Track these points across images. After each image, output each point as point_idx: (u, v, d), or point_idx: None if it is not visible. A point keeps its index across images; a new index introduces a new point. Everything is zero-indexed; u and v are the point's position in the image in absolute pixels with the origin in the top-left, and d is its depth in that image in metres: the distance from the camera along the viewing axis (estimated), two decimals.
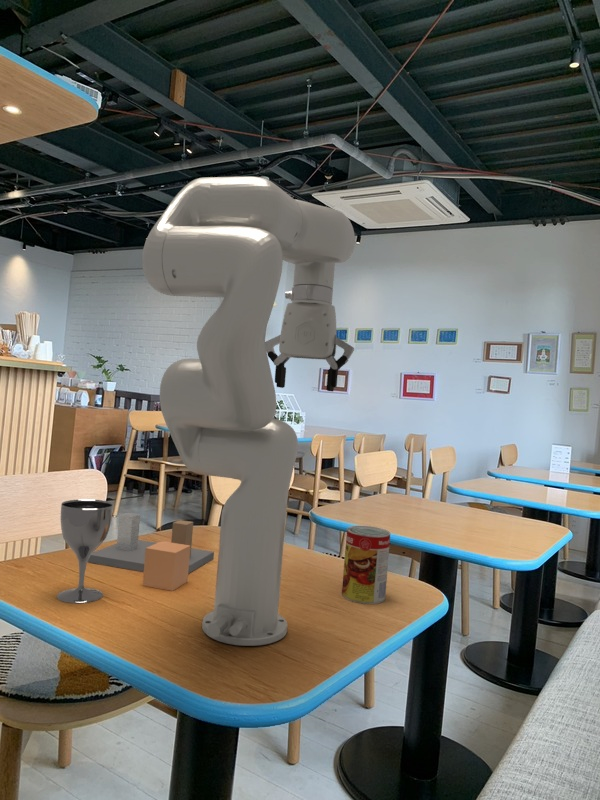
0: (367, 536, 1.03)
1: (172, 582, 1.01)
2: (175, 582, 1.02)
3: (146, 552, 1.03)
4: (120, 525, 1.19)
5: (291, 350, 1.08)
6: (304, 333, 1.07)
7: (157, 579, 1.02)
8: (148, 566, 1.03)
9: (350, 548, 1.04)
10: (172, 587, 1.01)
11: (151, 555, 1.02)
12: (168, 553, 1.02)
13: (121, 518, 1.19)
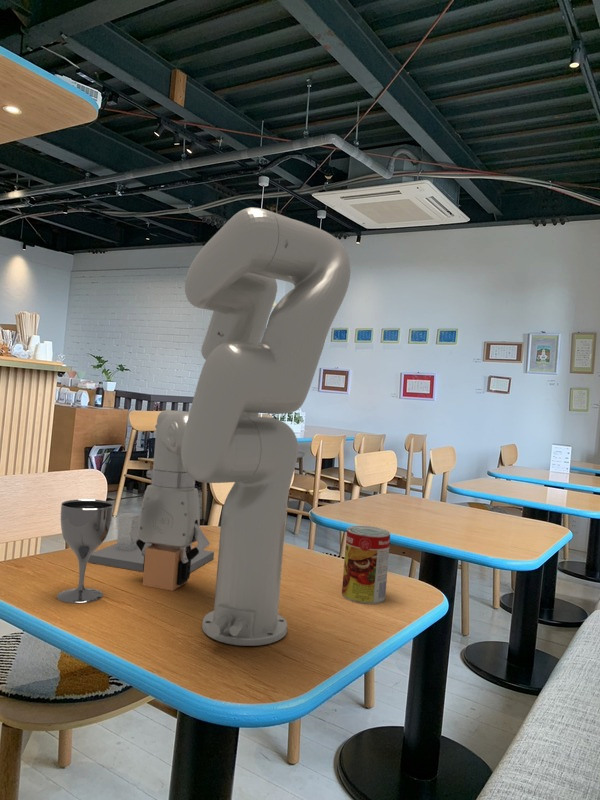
0: (367, 536, 1.03)
1: (172, 582, 1.01)
2: (175, 582, 1.02)
3: (146, 552, 1.03)
4: (120, 525, 1.19)
5: (149, 537, 1.03)
6: (161, 521, 1.02)
7: (157, 579, 1.02)
8: (148, 566, 1.03)
9: (350, 548, 1.04)
10: (172, 587, 1.01)
11: (151, 555, 1.02)
12: (168, 553, 1.02)
13: (121, 518, 1.19)
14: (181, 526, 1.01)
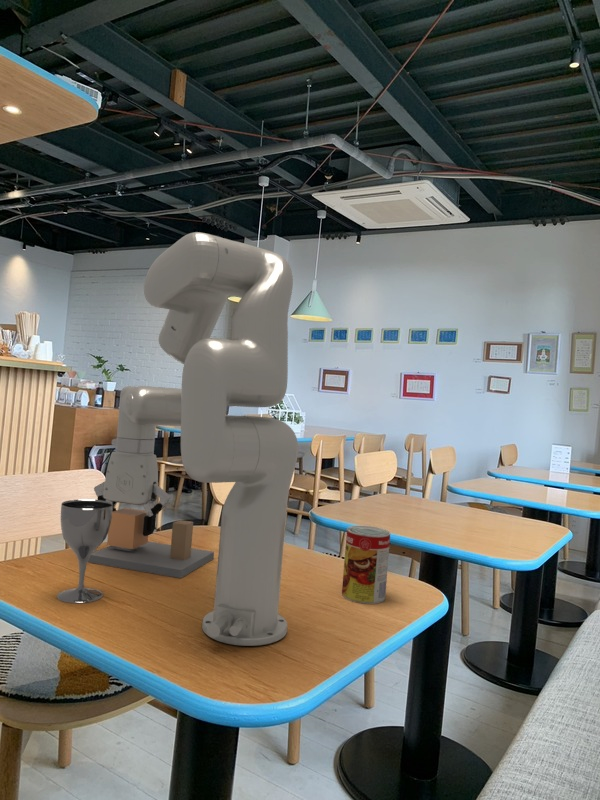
0: (367, 536, 1.03)
1: (132, 541, 1.16)
2: (135, 542, 1.17)
3: None
4: None
5: (113, 497, 1.18)
6: (124, 482, 1.17)
7: (119, 539, 1.17)
8: (112, 528, 1.18)
9: (350, 548, 1.04)
10: (132, 546, 1.16)
11: (114, 518, 1.18)
12: (129, 516, 1.17)
13: None
14: (140, 486, 1.16)
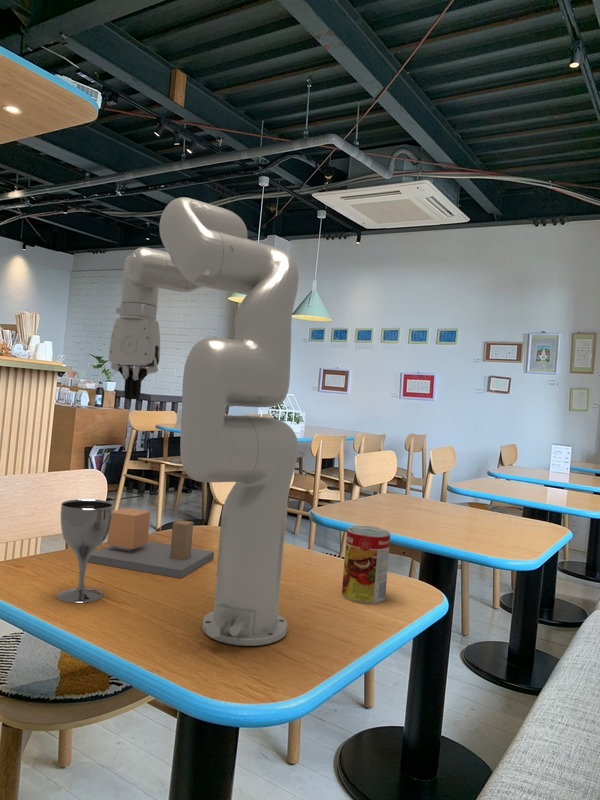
0: (367, 536, 1.03)
1: (132, 541, 1.16)
2: (135, 542, 1.17)
3: None
4: None
5: (117, 359, 1.24)
6: (128, 344, 1.24)
7: (119, 539, 1.17)
8: (112, 528, 1.18)
9: (350, 548, 1.04)
10: (132, 546, 1.16)
11: (114, 518, 1.18)
12: (129, 516, 1.17)
13: None
14: (143, 347, 1.23)
